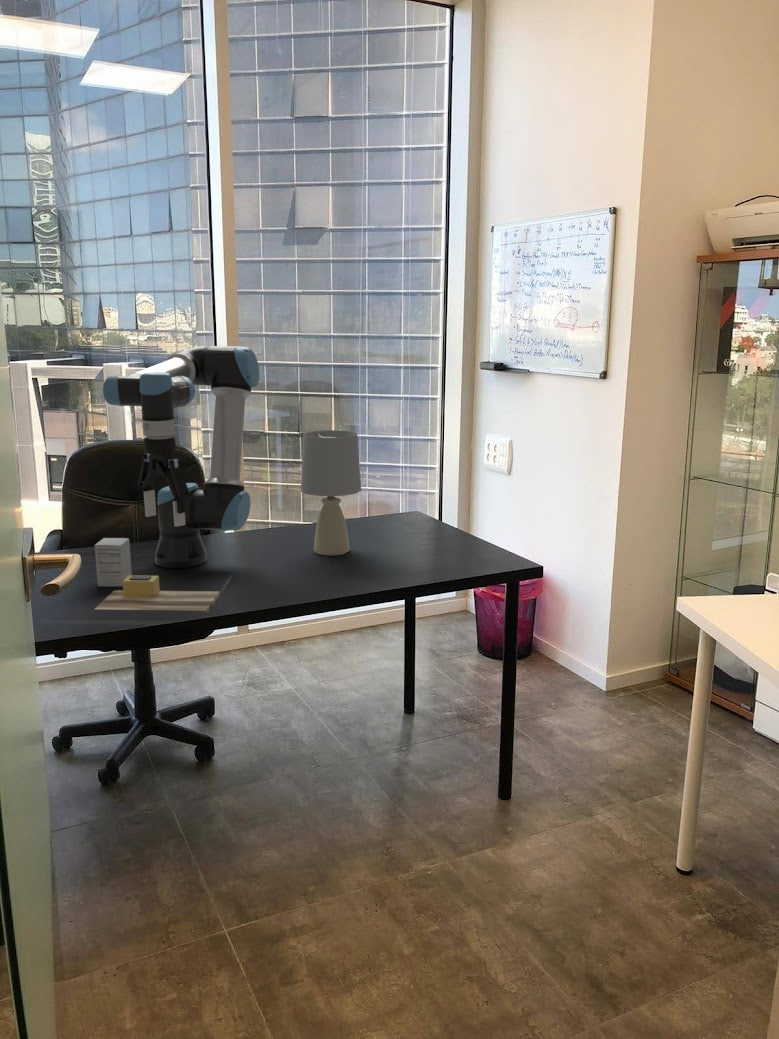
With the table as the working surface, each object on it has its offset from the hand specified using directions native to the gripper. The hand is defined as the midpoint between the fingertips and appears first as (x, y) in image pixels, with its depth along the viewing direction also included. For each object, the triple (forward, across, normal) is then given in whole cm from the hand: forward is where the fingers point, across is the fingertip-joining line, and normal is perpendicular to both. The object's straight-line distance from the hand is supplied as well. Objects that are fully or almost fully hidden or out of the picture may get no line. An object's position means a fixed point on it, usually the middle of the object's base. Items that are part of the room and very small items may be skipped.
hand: (165, 520), depth 216 cm
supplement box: (+22, -23, -3) cm, 32 cm away
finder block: (+21, -10, -3) cm, 23 cm away
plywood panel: (+22, -1, -3) cm, 22 cm away
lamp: (+23, -8, +62) cm, 67 cm away
